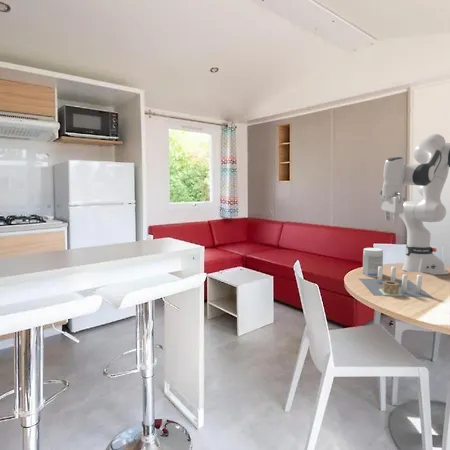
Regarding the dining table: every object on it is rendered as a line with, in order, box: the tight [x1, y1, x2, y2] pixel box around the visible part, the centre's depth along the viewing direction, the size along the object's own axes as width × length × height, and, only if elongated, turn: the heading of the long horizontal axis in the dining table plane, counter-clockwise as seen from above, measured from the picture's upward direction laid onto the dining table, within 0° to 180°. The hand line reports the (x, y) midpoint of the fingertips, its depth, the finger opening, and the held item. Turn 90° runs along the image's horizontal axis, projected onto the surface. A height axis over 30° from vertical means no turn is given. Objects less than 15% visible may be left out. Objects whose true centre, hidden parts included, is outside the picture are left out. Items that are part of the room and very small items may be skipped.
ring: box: [382, 281, 399, 294], centre depth 148 cm, size 6×6×4 cm
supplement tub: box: [362, 247, 384, 278], centre depth 178 cm, size 10×10×15 cm
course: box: [358, 266, 434, 299], centre depth 156 cm, size 24×26×9 cm
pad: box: [379, 289, 403, 297], centre depth 148 cm, size 8×8×1 cm
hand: (391, 221), depth 160 cm, fingers open, 8 cm apart
